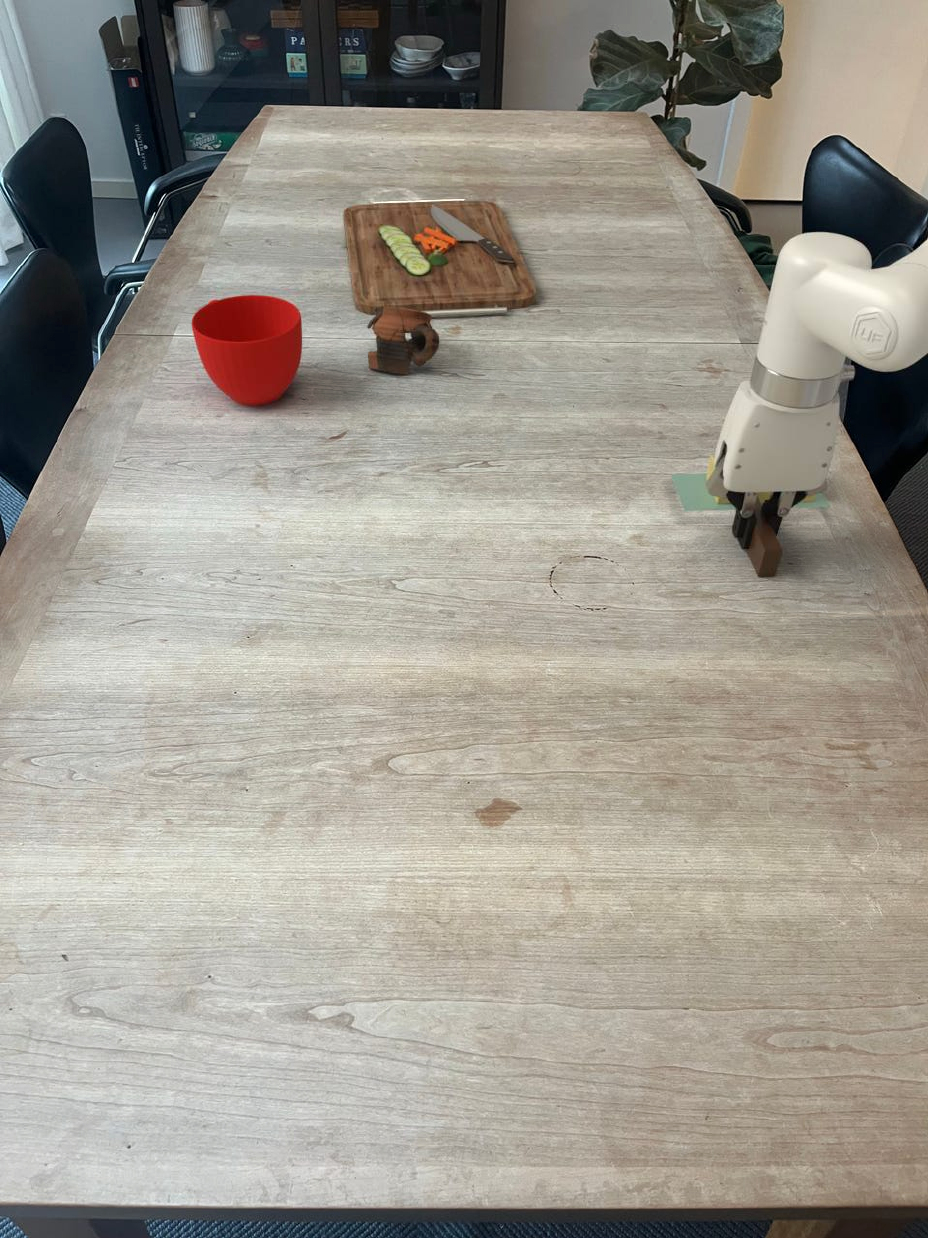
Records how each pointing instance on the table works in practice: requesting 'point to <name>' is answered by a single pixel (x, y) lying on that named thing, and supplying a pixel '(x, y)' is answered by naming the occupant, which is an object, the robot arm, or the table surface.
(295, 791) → the table surface
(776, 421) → the robot arm
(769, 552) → the knife
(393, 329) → the pottery mug
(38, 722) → the table surface
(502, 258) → the chopping board
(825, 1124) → the table surface
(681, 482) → the butter dish
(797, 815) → the table surface
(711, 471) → the butter slice
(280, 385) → the ceramic cup
